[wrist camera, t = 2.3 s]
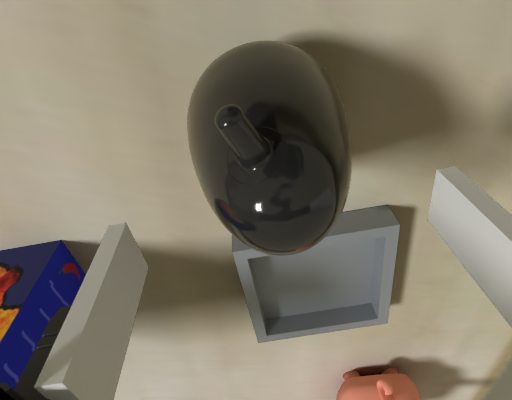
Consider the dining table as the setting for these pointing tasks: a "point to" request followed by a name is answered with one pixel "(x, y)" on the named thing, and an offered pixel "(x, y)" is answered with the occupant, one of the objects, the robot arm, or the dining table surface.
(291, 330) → the tray
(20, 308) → the cereal box
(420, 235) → the dining table surface
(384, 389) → the teapot
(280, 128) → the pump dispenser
